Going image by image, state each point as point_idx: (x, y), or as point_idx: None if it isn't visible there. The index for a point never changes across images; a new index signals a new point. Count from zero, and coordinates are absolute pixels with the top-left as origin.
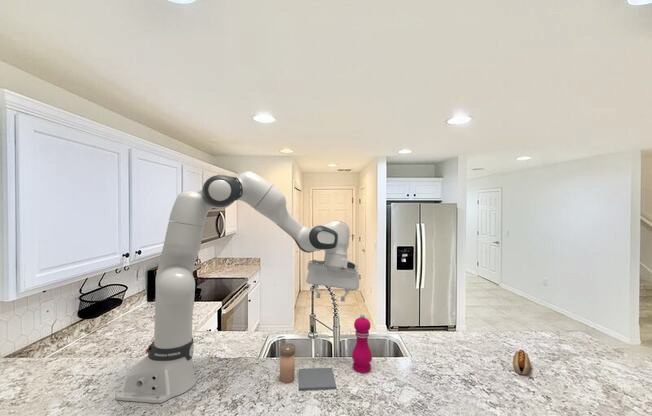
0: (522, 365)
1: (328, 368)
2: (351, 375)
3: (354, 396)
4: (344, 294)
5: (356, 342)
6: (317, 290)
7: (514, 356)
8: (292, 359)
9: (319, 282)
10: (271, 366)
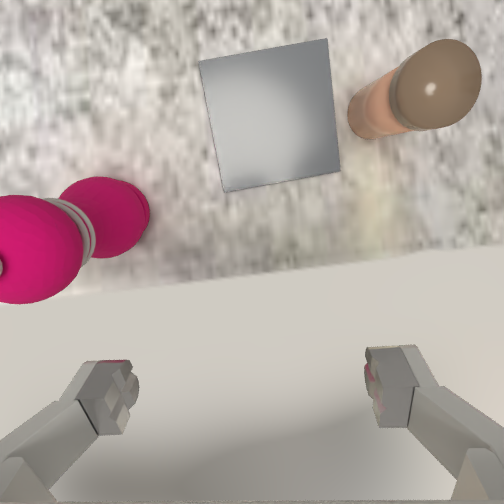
0: None
1: (236, 185)
2: (153, 161)
3: (132, 21)
4: (74, 461)
5: (105, 232)
6: (451, 412)
7: None
8: (389, 76)
9: None
10: (432, 192)
